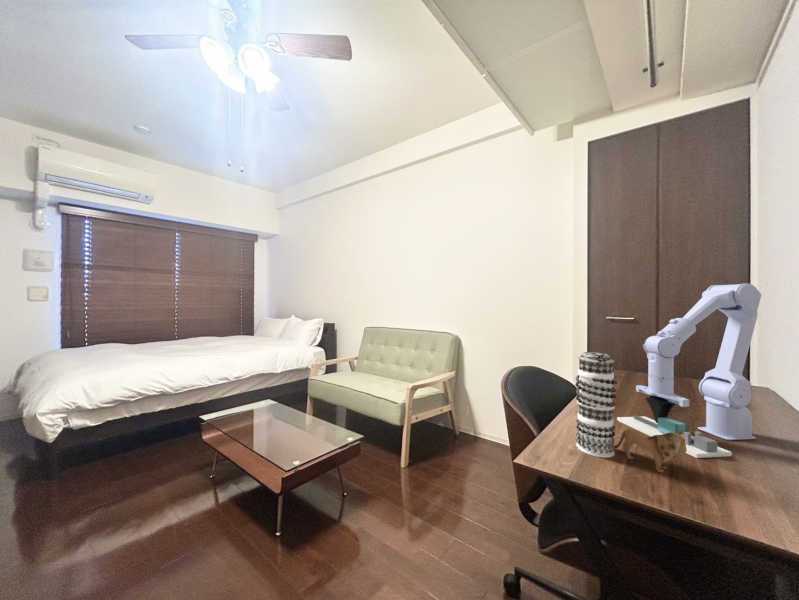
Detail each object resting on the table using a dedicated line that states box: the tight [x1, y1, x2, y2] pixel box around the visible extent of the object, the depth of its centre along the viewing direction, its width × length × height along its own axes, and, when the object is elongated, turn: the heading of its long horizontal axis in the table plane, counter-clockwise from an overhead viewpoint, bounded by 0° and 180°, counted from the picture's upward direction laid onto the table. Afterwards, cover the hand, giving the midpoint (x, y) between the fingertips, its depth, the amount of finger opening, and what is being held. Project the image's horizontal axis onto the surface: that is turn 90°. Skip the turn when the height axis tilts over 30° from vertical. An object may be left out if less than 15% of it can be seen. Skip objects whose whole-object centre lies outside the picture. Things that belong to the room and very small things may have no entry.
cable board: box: [616, 414, 733, 459], centre depth 88 cm, size 10×24×4 cm, turn 7°
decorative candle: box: [574, 351, 618, 458], centre depth 80 cm, size 9×9×25 cm
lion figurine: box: [614, 428, 687, 473], centre depth 74 cm, size 15×5×9 cm, turn 32°
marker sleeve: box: [658, 416, 689, 434], centre depth 87 cm, size 4×5×4 cm
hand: (660, 423), depth 90 cm, fingers closed
